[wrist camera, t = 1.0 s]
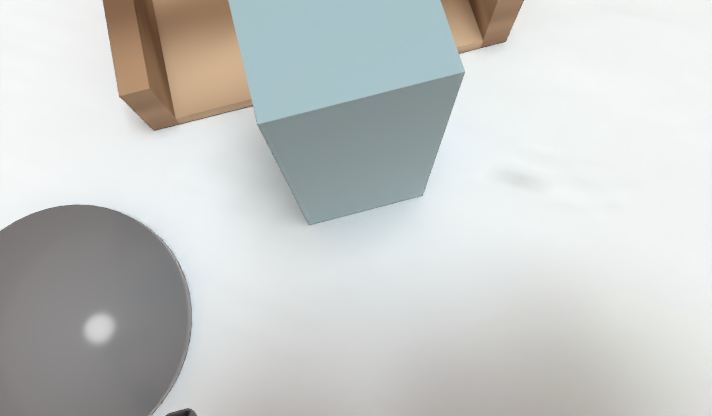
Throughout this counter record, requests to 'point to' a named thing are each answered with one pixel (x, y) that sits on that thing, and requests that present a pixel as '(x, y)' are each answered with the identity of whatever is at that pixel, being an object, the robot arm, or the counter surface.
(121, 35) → the open-sided box
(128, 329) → the coaster
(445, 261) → the counter surface
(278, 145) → the block
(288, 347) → the counter surface
